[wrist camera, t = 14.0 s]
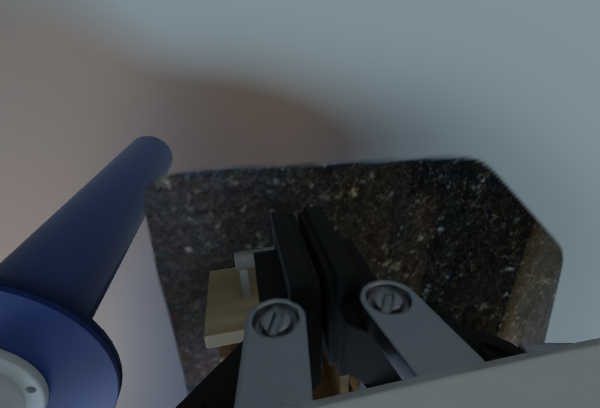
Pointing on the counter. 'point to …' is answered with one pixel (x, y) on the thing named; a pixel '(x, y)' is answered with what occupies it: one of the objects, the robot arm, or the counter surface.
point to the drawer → (235, 308)
